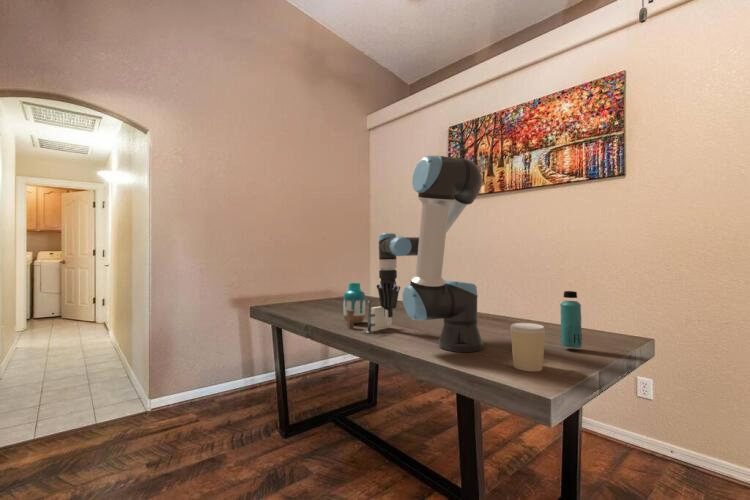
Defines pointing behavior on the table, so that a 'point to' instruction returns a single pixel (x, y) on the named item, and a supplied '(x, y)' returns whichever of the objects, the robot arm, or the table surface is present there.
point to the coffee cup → (528, 346)
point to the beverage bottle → (571, 322)
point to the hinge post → (369, 318)
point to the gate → (377, 318)
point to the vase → (354, 302)
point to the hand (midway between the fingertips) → (388, 324)
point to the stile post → (350, 319)
